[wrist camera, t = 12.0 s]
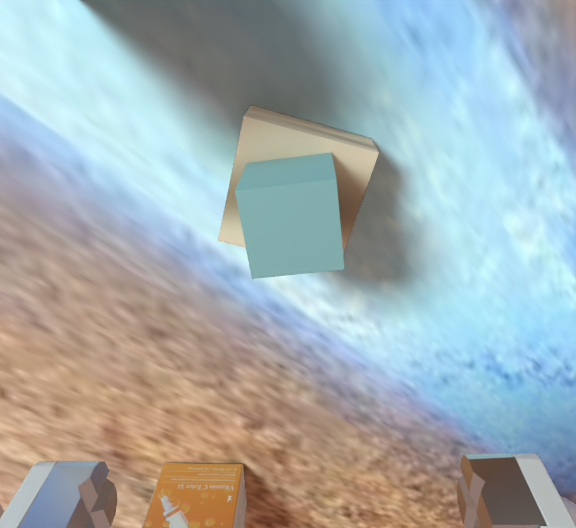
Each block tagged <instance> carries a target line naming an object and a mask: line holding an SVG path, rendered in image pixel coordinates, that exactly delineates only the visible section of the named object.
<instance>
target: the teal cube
mask: <svg viewBox="0 0 576 528" xmlns="http://www.w3.org/2000/svg"><path fill="white" fill-rule="evenodd" d="M235 195H236V200H237V205H238V210H239V215H240V220H241V225H242V230H243V235H244V240H245V245H246V250H247V255H248V260H249V265H250V270H251V276H252V279H255V278H265V277H275V276H285V275H295V274H304V273H314V272H324V271H334V270H344V258H343V246H342V235H341V224H340V213H339V202H338V191H337V180H336V174H335V169H334V163H333V158H332V153H331V152H330V153H322V154H315V155H307V156H299V157H291V158H283V159H275V160H267V161H259V162H251V163H246V165H245V168H244V170H243V173H242V175H241V177H240V180H239V182H238V185H237V187H236V189H235Z"/></svg>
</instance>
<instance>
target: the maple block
mask: <svg viewBox="0 0 576 528" xmlns="http://www.w3.org/2000/svg"><path fill="white" fill-rule="evenodd" d="M330 152H331V153H332V158H333V163H334V169H335V174H336V180H337V191H338V202H339V213H340V224H341V235H342V246H343V253H344V250H345V247H346V244H347V242H348V239H349V236H350V233H351V230H352V228H353V225H354V222H355V219H356V216H357V214H358V211H359V208H360V205H361V202H362V199H363V197H364V194H365V191H366V188H367V185H368V183H369V180H370V177H371V174H372V171H373V169H374V166H375V163H376V160H377V157H378V154H379V152H378V150H377V148H376V146H375V144H374V142H373V141H372V139H371V138H369V137H365V136H361V135H358V134H354V133H350V132H347V131H343V130H339V129H336V128H332V127H329V126H325V125H321V124H318V123H314V122H310V121H307V120H303V119H299V118H296V117H292V116H288V115H285V114H281V113H278V112H274V111H270V110H267V109H263V108H259V107H256V106H252V105H250V107H249V108H248V110H247V111H246V113H245V114H244V116H243V121H242V126H241V131H240V135H239V140H238V145H237V150H236V155H235V160H234V165H233V170H232V174H231V179H230V184H229V189H228V194H227V199H226V204H225V209H224V214H223V218H222V223H221V228H220V233H219V238H218V241H222V242H226V243H230V244H234V245H238V246H242V247H246V245H245V240H244V235H243V230H242V225H241V220H240V215H239V210H238V205H237V200H236V195H235V189H236V187H237V185H238V182H239V180H240V177H241V175H242V173H243V170H244V168H245V165H246V163H251V162H259V161H267V160H275V159H283V158H291V157H299V156H307V155H315V154H322V153H330Z"/></svg>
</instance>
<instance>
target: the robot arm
mask: <svg viewBox="0 0 576 528" xmlns="http://www.w3.org/2000/svg"><path fill="white" fill-rule="evenodd" d="M460 466H461V469H462V472H463V476H461V477H460V478H459V479H458V485H457V496H458V505H459V510H460V514H461V517H462V521H463V524H464V526H465V527H467V528H576V525H575V523H574V521H573V519H572V517H571V515H570V513H569V511H568V510H567V508H566V506H565V504H564V502H563V500H562V498H561V496H560V495H559V493H558V491H557V489H556V487H555V485H554V483H553V482H552V480H551V478H550V476H549V474H548V472H547V470H546V468H545V467H544V465H543V463H542V461H541V459H540V457H538V456H537V455H536V454H535V453H522V454H509V453H498V454H467V455H463V457H462V459H461V465H460ZM108 472H109V470H108V467H107V465H106V463H105V462H100V461H39V462H38V463H36V464H35V465H34V466H33V467H32V468H31V469H30V471H29V473H28V474H27V476H26V478H25V479H24V481H23V482H22V484H21V486H20V487H19V489H18V491H17V492H16V494H15V495H14V497H13V499H12V500H11V502H10V504H9V505H8V507H7V508H6V510H5V512H4V513H3V515H2V517H1V518H0V528H110V527H111V525H112V522H113V519H114V516H115V513H116V506H117V491H116V488H115V485H114V483H112V482H111V481H110V480H108V479H107V478H106V477H107V475H108Z"/></svg>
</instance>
